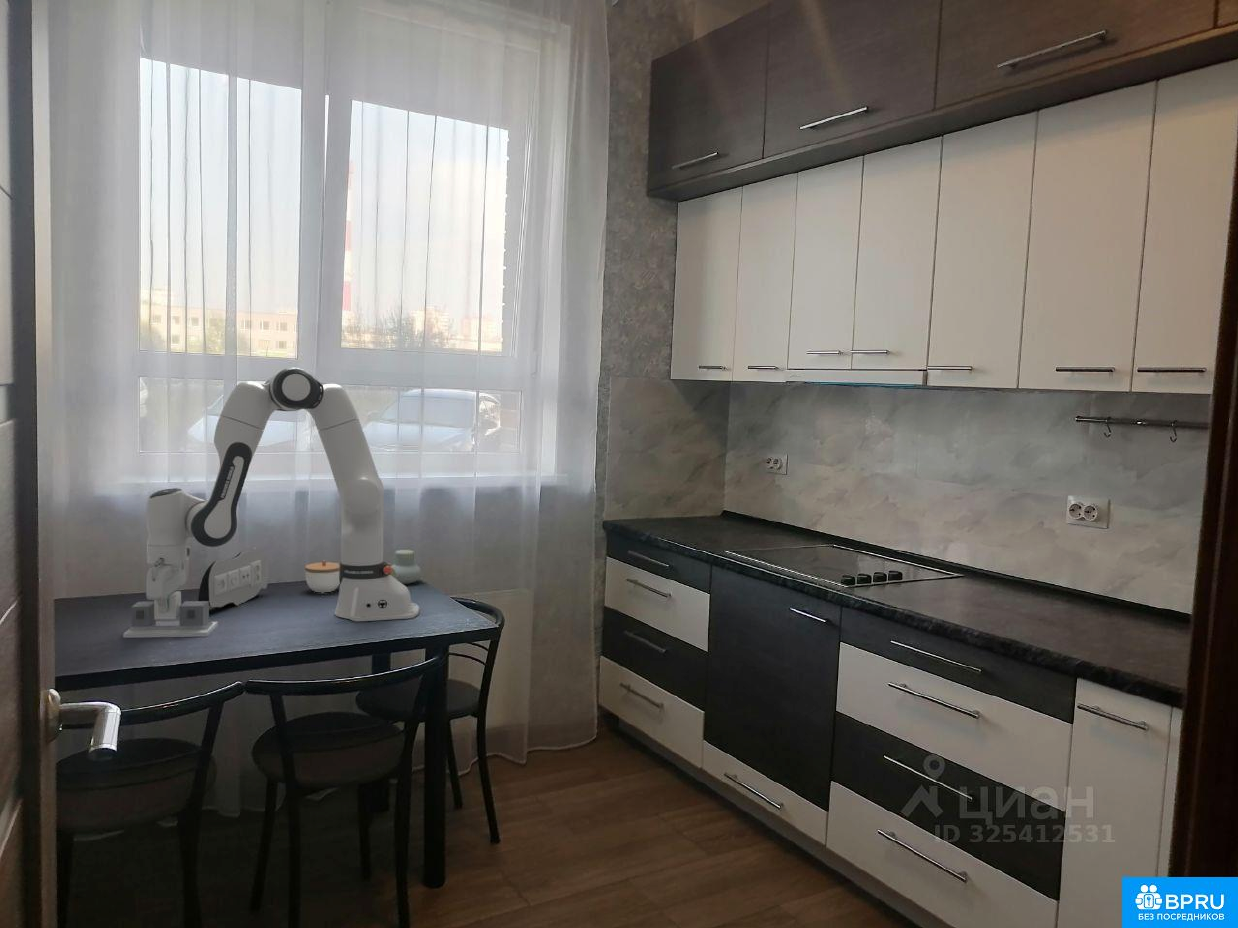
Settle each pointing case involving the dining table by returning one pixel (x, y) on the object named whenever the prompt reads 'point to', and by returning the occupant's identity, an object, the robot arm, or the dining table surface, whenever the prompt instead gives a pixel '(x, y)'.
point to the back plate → (170, 632)
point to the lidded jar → (322, 576)
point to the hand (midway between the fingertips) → (167, 609)
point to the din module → (173, 603)
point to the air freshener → (405, 567)
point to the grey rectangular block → (171, 626)
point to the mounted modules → (188, 614)
